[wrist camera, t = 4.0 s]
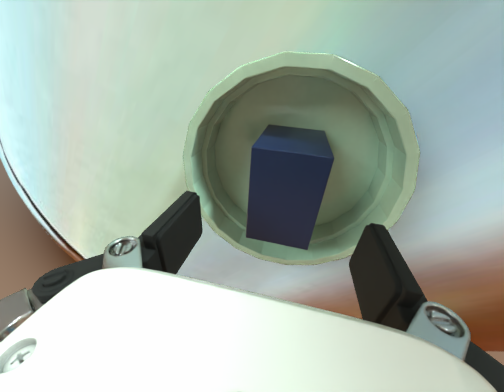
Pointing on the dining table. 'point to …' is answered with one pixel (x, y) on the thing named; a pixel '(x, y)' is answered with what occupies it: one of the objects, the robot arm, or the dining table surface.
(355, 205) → the bowl
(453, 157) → the dining table surface
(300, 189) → the navy blue block
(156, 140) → the dining table surface
